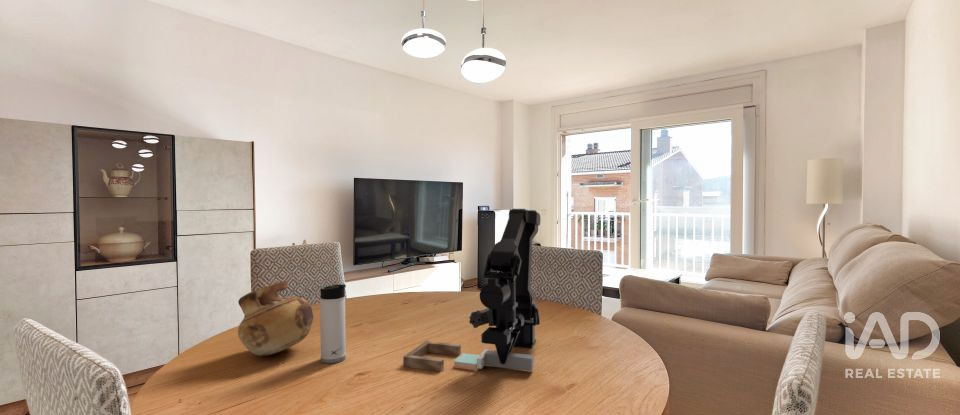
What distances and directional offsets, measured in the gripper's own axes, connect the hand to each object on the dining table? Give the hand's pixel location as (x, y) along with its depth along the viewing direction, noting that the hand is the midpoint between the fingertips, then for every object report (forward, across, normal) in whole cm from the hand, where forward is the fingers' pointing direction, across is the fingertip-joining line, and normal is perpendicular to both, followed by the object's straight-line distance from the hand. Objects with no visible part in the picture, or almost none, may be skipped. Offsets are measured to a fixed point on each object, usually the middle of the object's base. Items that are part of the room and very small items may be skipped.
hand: (504, 361), depth 107 cm
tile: (+2, 0, -9) cm, 10 cm away
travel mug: (+2, +8, -45) cm, 46 cm away
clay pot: (+2, +8, -63) cm, 63 cm away
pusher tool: (+1, 0, +1) cm, 2 cm away
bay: (+2, 0, -20) cm, 20 cm away
